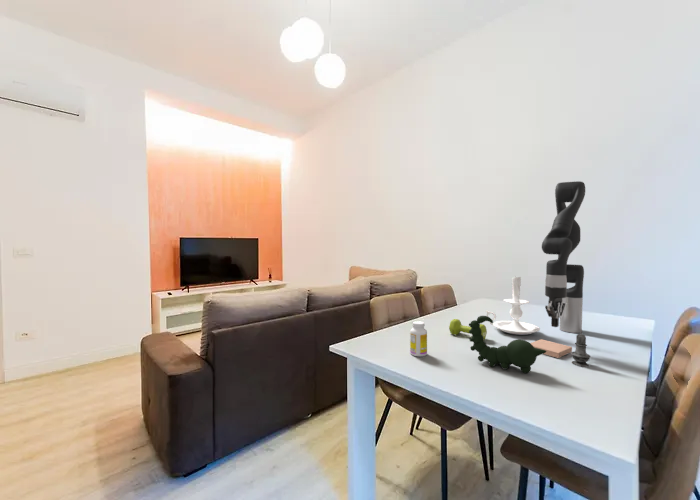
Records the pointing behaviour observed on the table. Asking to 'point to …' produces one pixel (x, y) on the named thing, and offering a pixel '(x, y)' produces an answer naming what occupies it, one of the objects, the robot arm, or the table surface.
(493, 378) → the table surface
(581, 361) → the grey ridged upright piece
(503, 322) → the candlestick
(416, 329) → the supplement bottle
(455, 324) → the dumbbell
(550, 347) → the picture frame
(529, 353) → the toy figurine
